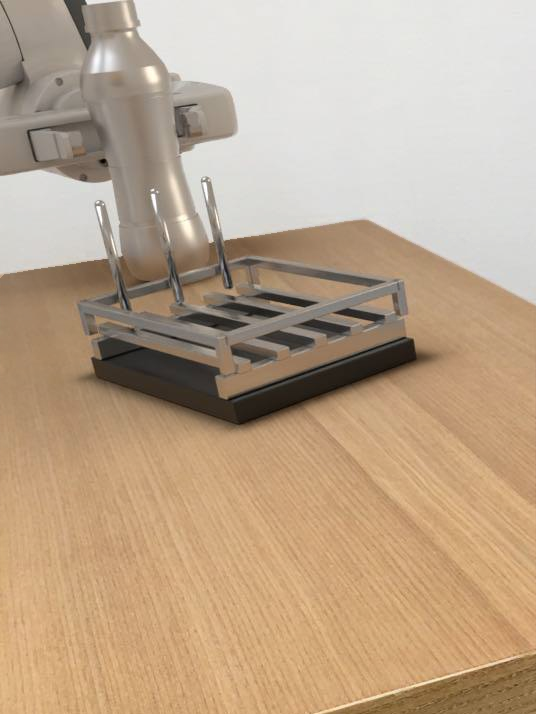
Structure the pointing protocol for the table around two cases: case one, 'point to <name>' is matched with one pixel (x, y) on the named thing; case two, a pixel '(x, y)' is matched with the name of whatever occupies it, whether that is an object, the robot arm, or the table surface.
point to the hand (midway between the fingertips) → (137, 134)
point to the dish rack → (242, 331)
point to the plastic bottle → (139, 141)
